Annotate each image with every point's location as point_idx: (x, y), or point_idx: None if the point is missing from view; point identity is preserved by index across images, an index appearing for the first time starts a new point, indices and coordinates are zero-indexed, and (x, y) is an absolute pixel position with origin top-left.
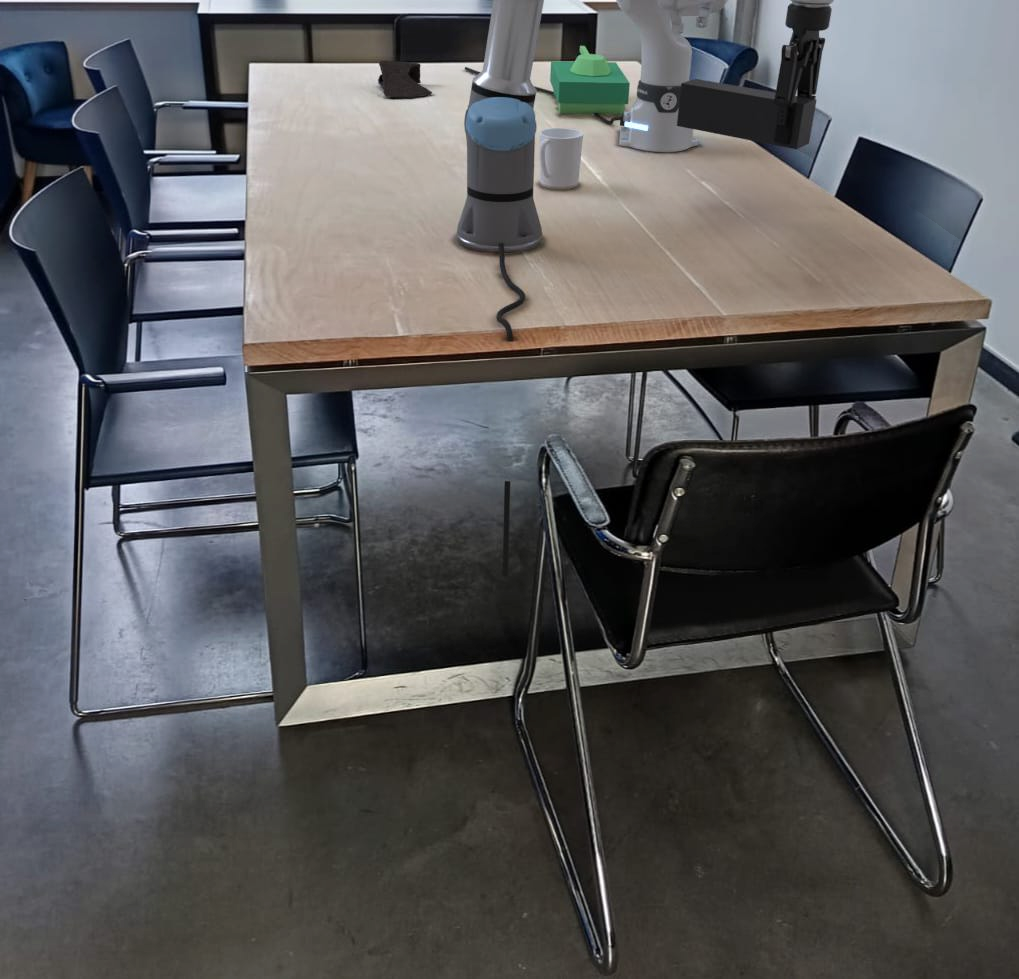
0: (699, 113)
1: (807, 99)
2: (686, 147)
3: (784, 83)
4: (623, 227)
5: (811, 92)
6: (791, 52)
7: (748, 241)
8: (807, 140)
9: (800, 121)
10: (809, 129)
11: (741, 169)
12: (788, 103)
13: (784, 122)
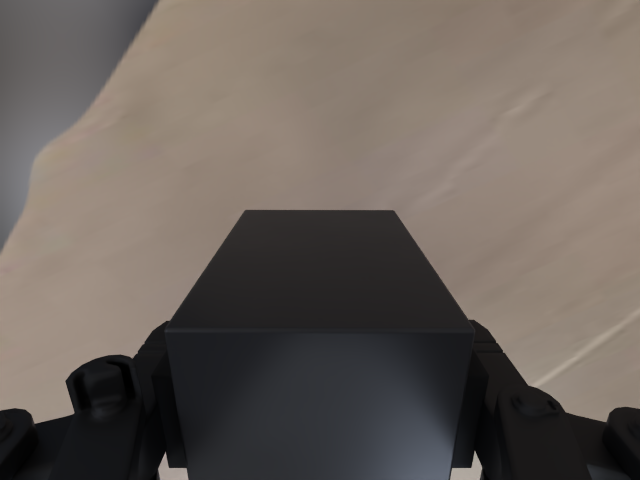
0: None
1: (240, 384)
2: None
3: None
4: (570, 398)
5: (84, 438)
6: None
7: (533, 170)
8: (271, 215)
9: (431, 266)
10: (261, 233)
11: (32, 410)
12: (636, 418)
13: (488, 335)
